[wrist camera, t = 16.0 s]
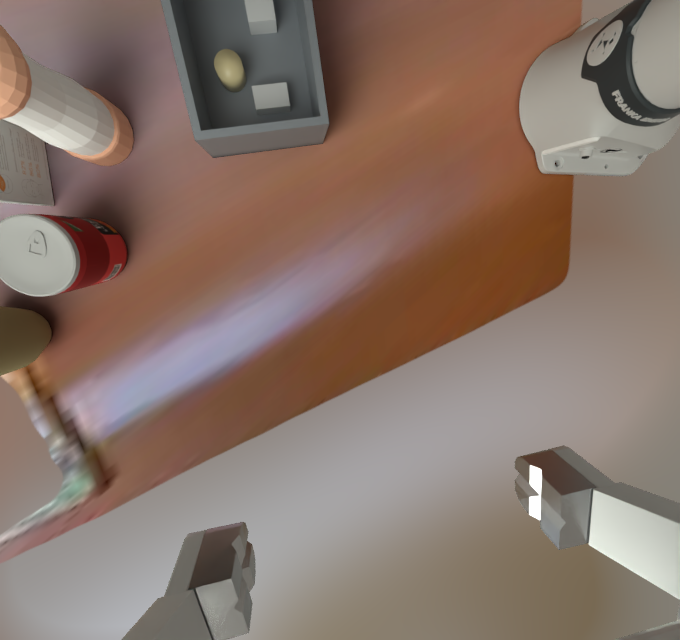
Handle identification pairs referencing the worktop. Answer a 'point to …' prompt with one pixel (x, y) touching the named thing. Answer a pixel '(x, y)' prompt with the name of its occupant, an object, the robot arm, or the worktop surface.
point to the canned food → (58, 253)
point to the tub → (249, 73)
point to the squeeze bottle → (21, 338)
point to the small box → (23, 167)
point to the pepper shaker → (60, 109)
